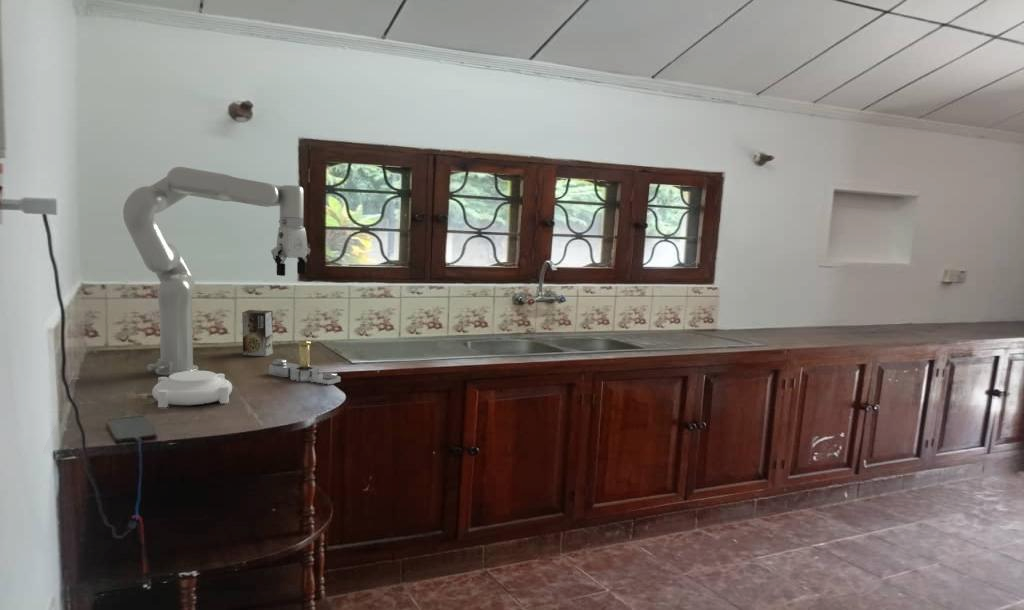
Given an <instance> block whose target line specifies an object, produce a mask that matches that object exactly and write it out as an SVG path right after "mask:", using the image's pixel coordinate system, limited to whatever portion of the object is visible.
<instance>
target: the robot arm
mask: <svg viewBox="0 0 1024 610" xmlns="http://www.w3.org/2000/svg"><path fill="white" fill-rule="evenodd" d="M304 193H305V192H304V188H303V187H302V186H301V185H289V184H285V185H276V184H271V183H269V182H268V183H267V182H262V181H256V180H252V179H251V180H250V179H245V178H240V177H236V176H232V175H229V174H225V173H219V172H214V171H208V170H203V169H198V168H196V169H195V168H190V167H186V166H185V167H184V166H175V167H172V168H171V169H170V170H169V171H168V173H167V174H166V176H165V177H164V178H161V179H160V180H158V181H157V182H155V183H153V184H151V185H147V186H141V187H138V188H136V189H135V190H134V191H132V192H131V193H130V194H129V195H128V197H127V199H126V200H125V202H124V205H123V210H122V215H123V216H122V217H123V220H124V225H125V226H126V229H127V231H128V233H129V235H130V237H131V238H132V241H133V243H134V245H135V247H136V249H137V251H138V253H139V254H140V257H141V258H142V259H141V260H143V263H144V265H145V267H146V268H147V269H148V271H151V272H152V273H154V274H156V276H157V278H158V280H159V282H160V283H159V285H158V288H157V299H158V300H157V301H158V311H159V312H158V313H159V314H158V315H159V340H160V342H159V344H160V347H159V348H160V352H159V353H160V358H158V359H157V362H156V363H150V364H147V365H146V369H147V371H150V372H151V371H154V370H155V373H156V374H157V375H159V376H166V377H167V376H168V377H169V376H170V375H172V374H174V373H178V372H184V371H199V366H198V365H196V364H194V345H193V344H194V339H193V338H194V337H193V335H194V333H193V331H194V329H193V308H192V306H193V305H192V296H193V295H194V293H195V290H196V283H195V280H194V277H193V276H192V274H191V272H190V270H189V268H188V266H187V265H186V262H185V261H184V259H183V257H182V254H181V253H180V251H179V250H178V248H177V247H175V246H174V245H173V244H172V243H168V241H167V239H166V238H165V236H164V234H163V232H162V230H161V228H160V226H159V225H158V222H157V221H156V219H155V214H158V213H161V212H163V211H165V210H166V209H169V208H170V207H172V206H173V205H174V204H177V203H179V201H181V200H183V199H184V198H186V197H187V196H191V197H197V198H204V199H210V200H215V201H221V202H234V203H242V204H247V205H253V206H259V207H265V208H270V207H279V220H278V223H279V227H278V230H277V237H276V246H275V247H274V248H272V249H271V251H270V252H271V255H272V258H273V260H274V263H275V264H276V275H277V276H280V277H284V276H286V263H285V262H286V260H287V258H289V259H291V258H292V259H297V260H298V261H297V265H296V266H297V267H296V268H297V270H296V271H297V274H299V275H306V273H307V262H308V259H309V257H310V254H311V252H312V250H311V248H309V246H308V237H307V231H306V227H304V196H305V195H304Z"/></svg>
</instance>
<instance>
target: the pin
mask: <svg viewBox="0 0 1024 610" xmlns="http://www.w3.org/2000/svg"><path fill="white" fill-rule="evenodd" d="M311 344H312V341H311V340H299V341H298V342H297V345H299V346H298V348H299V352H298V353H299V357H298V360H299V362H298V363H299V364H298V365H299V370H309V367H310V362H311V361H310V359H311V358H310V357H311V356H310V354H311V353H310V352H311V351H310V349H311V348H310V347H311V346H310V345H311Z"/></svg>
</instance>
